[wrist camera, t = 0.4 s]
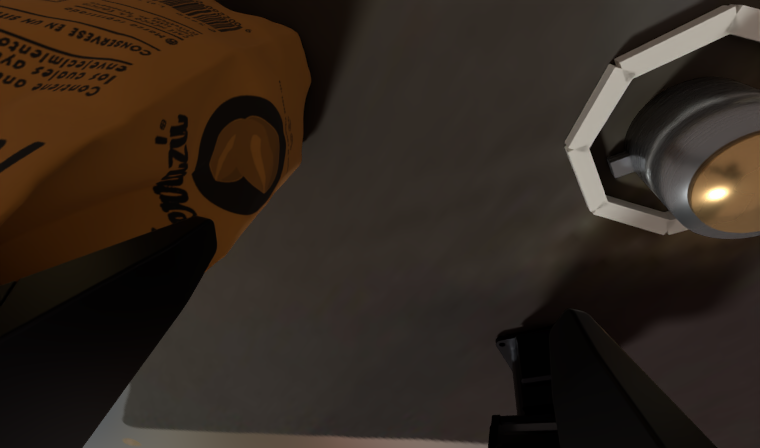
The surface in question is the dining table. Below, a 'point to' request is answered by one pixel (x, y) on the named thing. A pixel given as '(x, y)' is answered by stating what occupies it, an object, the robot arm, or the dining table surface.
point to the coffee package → (139, 122)
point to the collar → (614, 84)
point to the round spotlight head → (700, 155)
